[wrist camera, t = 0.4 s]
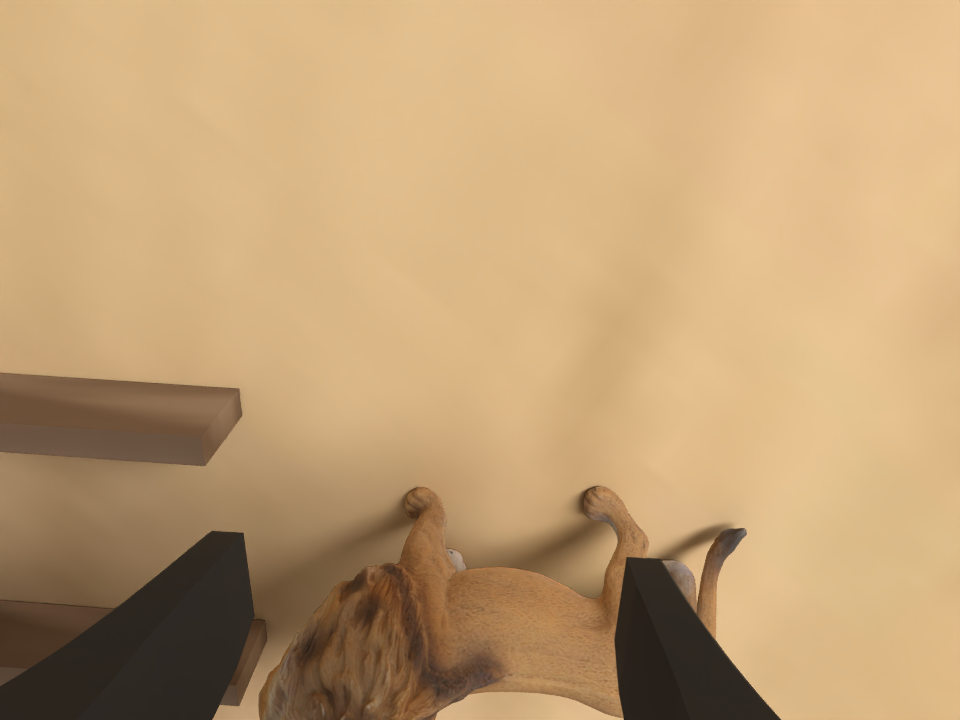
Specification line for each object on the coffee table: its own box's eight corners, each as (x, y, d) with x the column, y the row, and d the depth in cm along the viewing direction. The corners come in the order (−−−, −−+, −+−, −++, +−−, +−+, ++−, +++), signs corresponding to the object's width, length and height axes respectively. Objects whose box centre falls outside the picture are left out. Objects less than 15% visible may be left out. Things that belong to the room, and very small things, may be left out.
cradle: (266, 640, 28) (239, 706, 25) (-21, 617, 28) (-79, 680, 26) (238, 388, 23) (201, 436, 20) (-105, 366, 24) (-188, 410, 21)
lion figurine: (340, 608, 27) (260, 858, 19) (305, 491, 25) (198, 717, 17) (741, 577, 25) (844, 838, 17) (741, 449, 23) (858, 678, 15)
